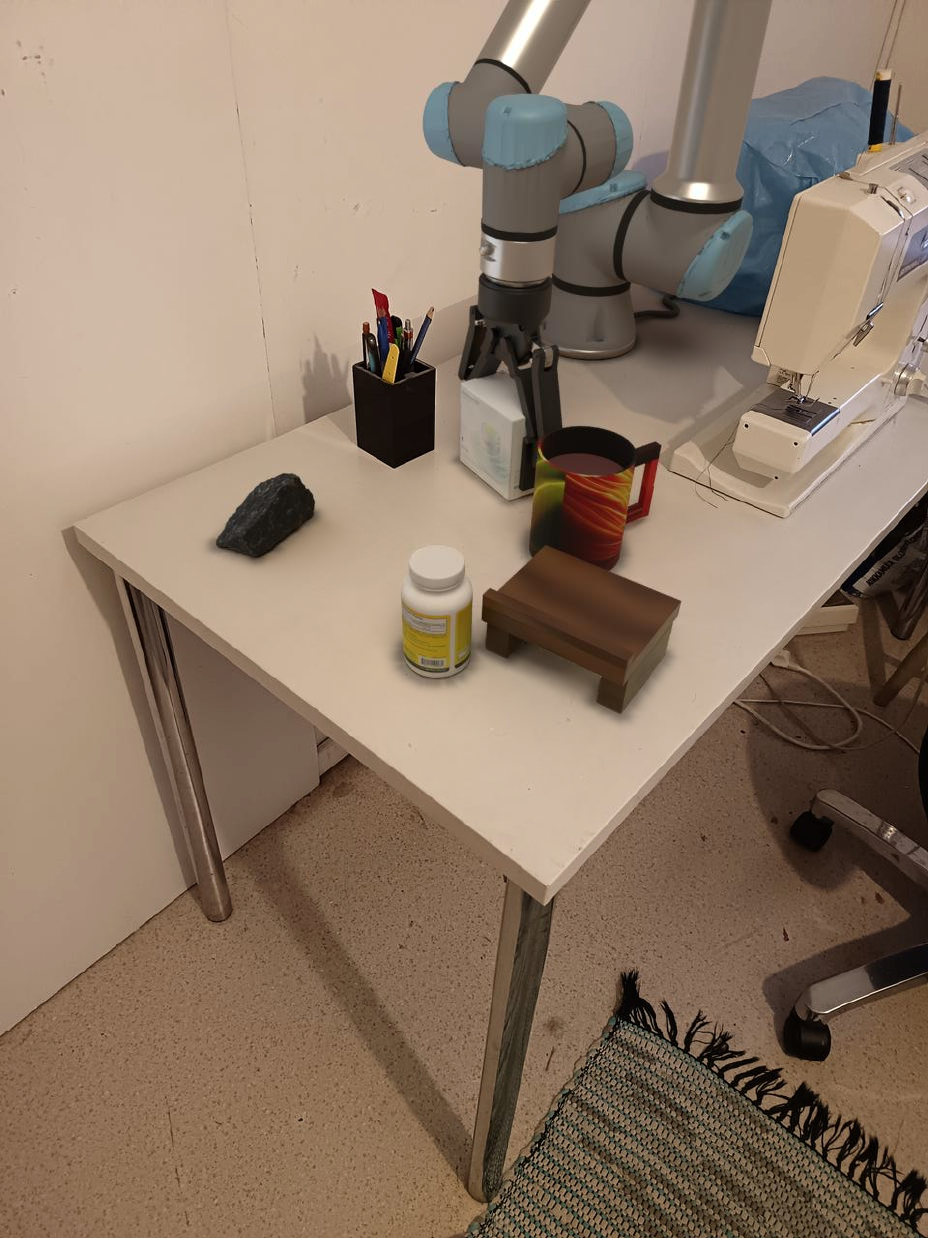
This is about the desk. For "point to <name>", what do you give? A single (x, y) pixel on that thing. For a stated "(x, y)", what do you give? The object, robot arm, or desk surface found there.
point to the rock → (268, 515)
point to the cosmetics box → (493, 432)
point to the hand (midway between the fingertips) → (503, 463)
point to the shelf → (583, 621)
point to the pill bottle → (437, 612)
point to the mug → (588, 492)
